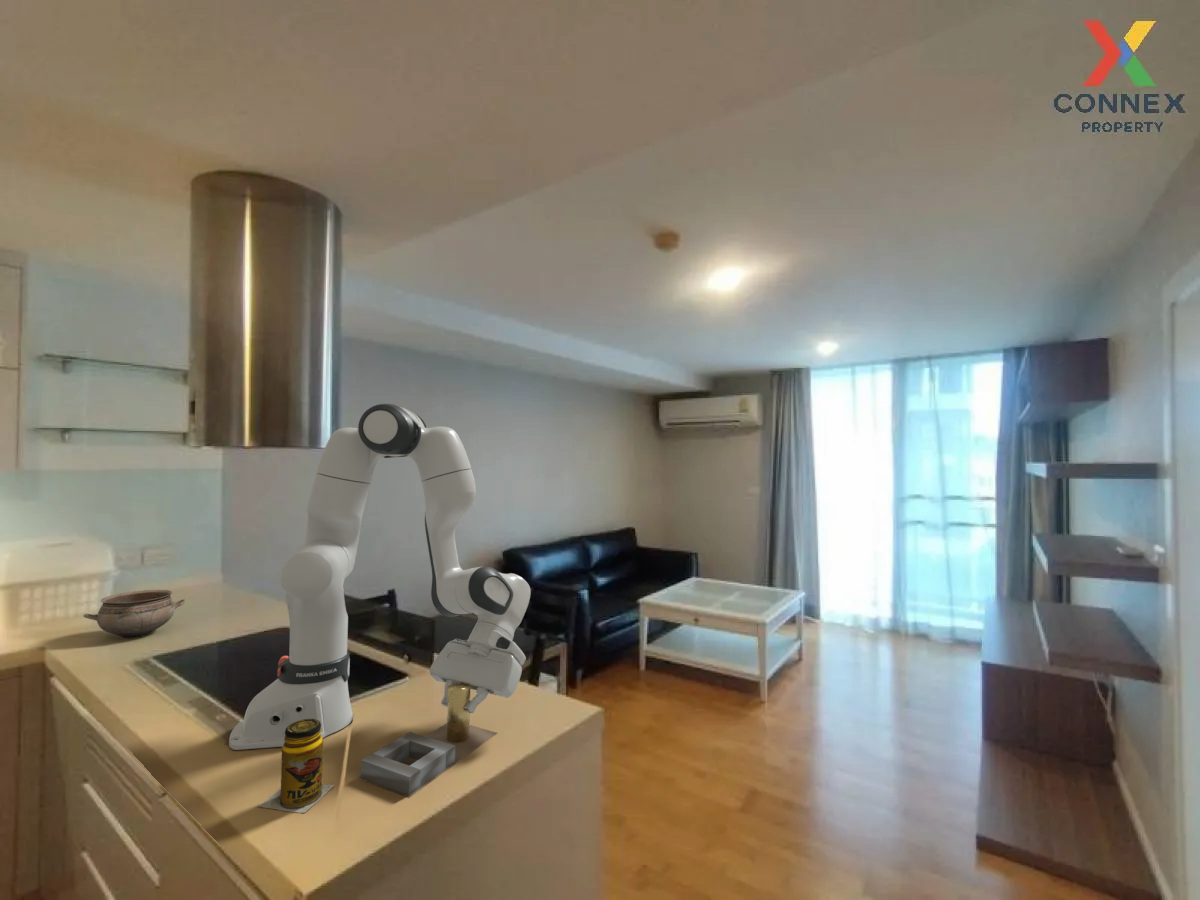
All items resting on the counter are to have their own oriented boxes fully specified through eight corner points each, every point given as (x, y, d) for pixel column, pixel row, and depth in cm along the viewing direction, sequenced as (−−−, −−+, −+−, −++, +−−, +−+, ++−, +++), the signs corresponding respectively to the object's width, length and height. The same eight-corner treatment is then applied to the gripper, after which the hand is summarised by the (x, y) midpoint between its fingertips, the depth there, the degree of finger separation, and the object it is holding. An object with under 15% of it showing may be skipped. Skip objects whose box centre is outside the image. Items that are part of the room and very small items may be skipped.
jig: (408, 803, 88) (409, 779, 88) (357, 784, 93) (357, 760, 93) (497, 737, 109) (498, 717, 109) (451, 724, 114) (452, 705, 115)
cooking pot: (177, 620, 187) (178, 585, 187) (192, 631, 175) (193, 594, 175) (77, 637, 168) (79, 598, 168) (87, 651, 155) (88, 609, 156)
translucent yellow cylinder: (447, 744, 104) (449, 692, 105) (445, 733, 109) (446, 683, 109) (470, 740, 106) (471, 689, 106) (467, 730, 110) (468, 680, 111)
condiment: (304, 813, 85) (307, 737, 85) (257, 807, 86) (259, 732, 87) (334, 786, 92) (336, 716, 92) (290, 781, 93) (292, 712, 94)
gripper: (444, 630, 119) (409, 691, 110) (521, 644, 110) (490, 712, 101) (457, 644, 123) (425, 704, 113) (532, 659, 114) (504, 726, 105)
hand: (456, 708), depth 107 cm, fingers closed on translucent yellow cylinder, 4 cm apart
